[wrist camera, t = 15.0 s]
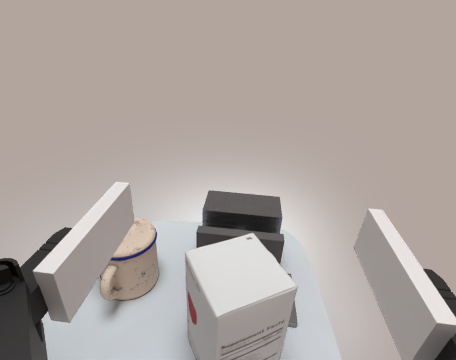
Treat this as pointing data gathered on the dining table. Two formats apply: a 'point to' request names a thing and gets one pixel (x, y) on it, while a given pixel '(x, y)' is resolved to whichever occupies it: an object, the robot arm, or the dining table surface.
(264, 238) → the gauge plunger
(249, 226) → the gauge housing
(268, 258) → the supplement box
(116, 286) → the teacup with lid
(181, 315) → the dining table surface
